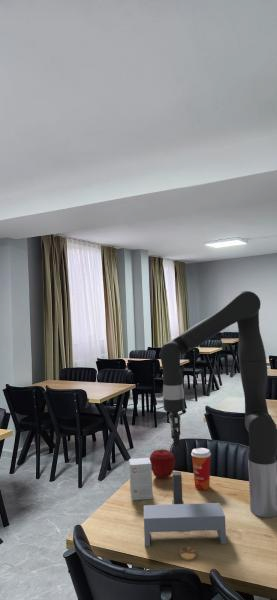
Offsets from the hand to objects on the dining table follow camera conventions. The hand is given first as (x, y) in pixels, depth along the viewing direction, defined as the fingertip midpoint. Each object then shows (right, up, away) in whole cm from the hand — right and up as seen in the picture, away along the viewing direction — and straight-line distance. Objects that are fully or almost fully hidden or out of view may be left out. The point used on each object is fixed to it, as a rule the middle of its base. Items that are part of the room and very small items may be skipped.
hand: (175, 442), depth 139 cm
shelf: (+1, -21, -22) cm, 30 cm away
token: (+1, -21, -30) cm, 37 cm away
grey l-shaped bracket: (+1, -22, -9) cm, 23 cm away
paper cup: (+12, -22, +12) cm, 28 cm away
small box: (-12, -23, +6) cm, 27 cm away
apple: (-3, -23, +22) cm, 33 cm away
